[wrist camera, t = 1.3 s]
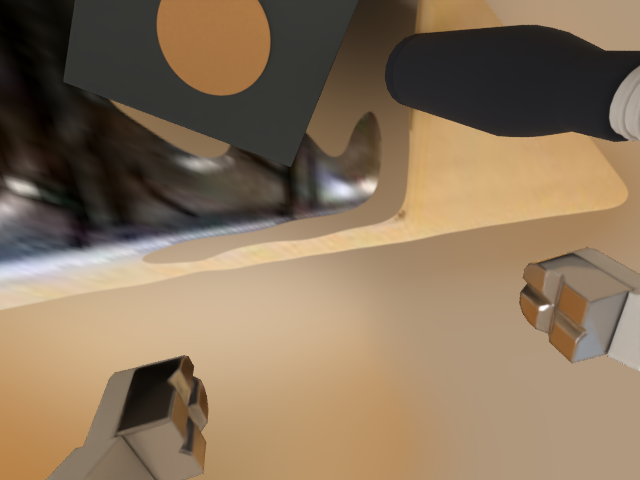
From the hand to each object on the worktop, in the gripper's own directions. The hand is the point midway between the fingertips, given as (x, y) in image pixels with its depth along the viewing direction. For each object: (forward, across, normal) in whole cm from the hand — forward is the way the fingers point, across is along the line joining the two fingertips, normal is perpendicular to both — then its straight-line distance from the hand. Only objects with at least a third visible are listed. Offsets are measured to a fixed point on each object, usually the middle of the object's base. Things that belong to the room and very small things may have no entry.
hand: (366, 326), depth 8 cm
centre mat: (+30, +3, -7) cm, 31 cm away
